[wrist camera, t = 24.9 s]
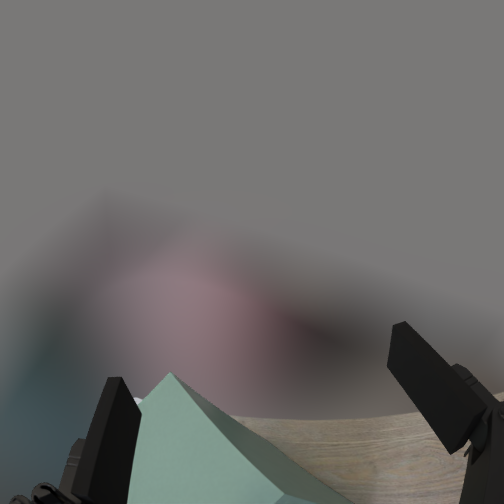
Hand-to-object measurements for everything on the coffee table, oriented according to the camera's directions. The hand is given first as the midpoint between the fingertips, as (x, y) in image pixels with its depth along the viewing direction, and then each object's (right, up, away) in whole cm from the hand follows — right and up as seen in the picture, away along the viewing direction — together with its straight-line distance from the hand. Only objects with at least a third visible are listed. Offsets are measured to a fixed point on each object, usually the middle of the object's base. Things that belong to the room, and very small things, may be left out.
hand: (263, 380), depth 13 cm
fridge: (+2, -35, +17) cm, 39 cm away
